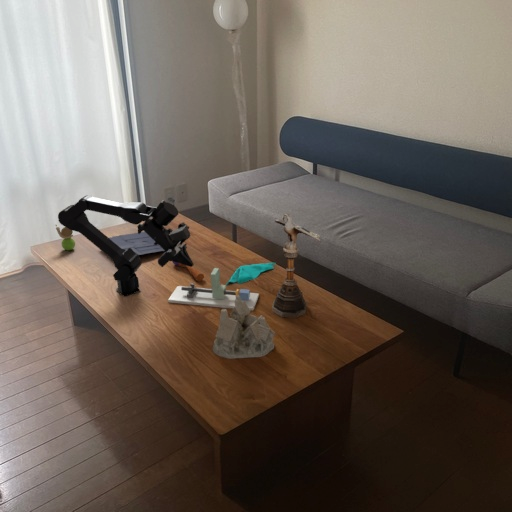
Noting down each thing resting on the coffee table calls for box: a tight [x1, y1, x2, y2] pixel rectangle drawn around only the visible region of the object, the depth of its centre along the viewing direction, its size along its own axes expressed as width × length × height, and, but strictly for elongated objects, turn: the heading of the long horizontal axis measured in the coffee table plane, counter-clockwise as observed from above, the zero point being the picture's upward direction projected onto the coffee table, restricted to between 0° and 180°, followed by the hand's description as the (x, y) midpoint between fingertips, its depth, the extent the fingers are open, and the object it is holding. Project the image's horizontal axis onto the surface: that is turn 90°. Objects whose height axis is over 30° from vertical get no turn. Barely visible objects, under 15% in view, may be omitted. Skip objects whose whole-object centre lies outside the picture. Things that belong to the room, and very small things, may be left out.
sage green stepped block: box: [210, 267, 227, 299], centre depth 176 cm, size 4×5×10 cm
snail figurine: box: [55, 224, 76, 251], centre depth 215 cm, size 5×6×12 cm
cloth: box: [225, 262, 277, 287], centre depth 197 cm, size 26×14×2 cm, turn 122°
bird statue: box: [271, 213, 322, 319], centre depth 167 cm, size 17×13×35 cm
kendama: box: [171, 261, 205, 282], centre depth 198 cm, size 6×6×20 cm
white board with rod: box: [167, 282, 260, 312], centre depth 178 cm, size 30×10×5 cm, turn 78°
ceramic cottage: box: [212, 295, 276, 360], centre depth 150 cm, size 16×16×15 cm
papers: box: [108, 231, 164, 256], centre depth 219 cm, size 24×30×4 cm
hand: (192, 265), depth 175 cm, fingers closed
